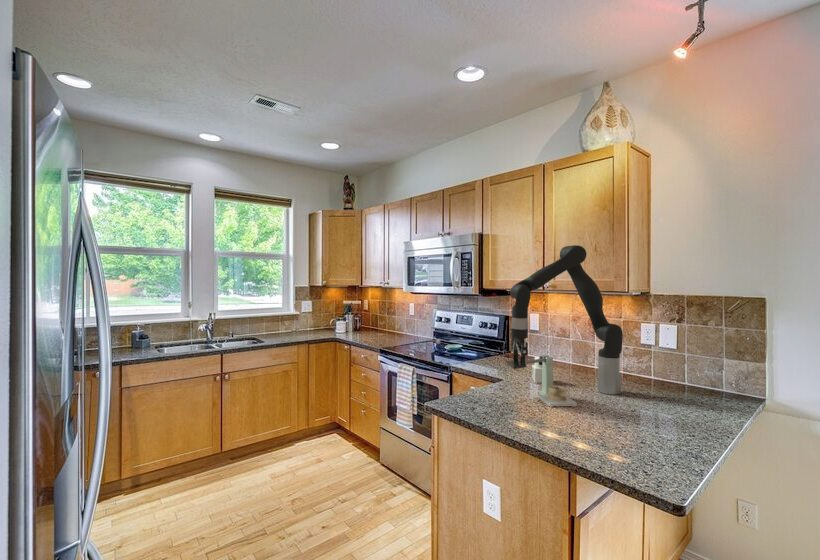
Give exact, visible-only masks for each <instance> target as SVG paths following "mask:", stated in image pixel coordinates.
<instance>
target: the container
mask: <svg viewBox="0 0 820 560" xmlns="http://www.w3.org/2000/svg"><path fill="white" fill-rule="evenodd" d="M543 356H544V355H540V356H539V355H537V356H535V357H534V360H535V359H542V358H543ZM531 380H532V381H533V382H534V383H535V384H542V362H537V363H533V364H532V366H531Z"/></svg>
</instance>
